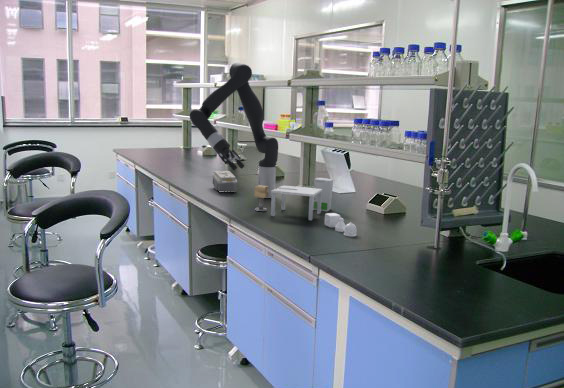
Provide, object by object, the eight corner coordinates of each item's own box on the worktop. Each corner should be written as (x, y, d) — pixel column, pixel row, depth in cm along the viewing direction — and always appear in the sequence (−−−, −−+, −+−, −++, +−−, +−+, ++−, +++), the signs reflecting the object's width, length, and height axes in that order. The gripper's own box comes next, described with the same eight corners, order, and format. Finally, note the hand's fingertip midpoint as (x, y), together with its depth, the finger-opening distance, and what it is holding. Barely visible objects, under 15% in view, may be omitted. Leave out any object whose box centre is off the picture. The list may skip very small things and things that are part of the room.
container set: (324, 225, 221) (324, 213, 220) (334, 224, 223) (335, 212, 222) (347, 237, 203) (348, 224, 202) (359, 236, 205) (359, 223, 204)
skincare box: (312, 210, 250) (313, 179, 248) (315, 207, 257) (317, 177, 254) (328, 211, 248) (330, 180, 245) (331, 209, 254) (333, 178, 251)
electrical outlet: (228, 184, 312) (229, 168, 309) (239, 196, 286) (240, 179, 283) (209, 185, 308) (210, 169, 306) (219, 197, 282) (220, 179, 279)
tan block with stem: (257, 209, 249) (258, 184, 246) (268, 210, 247) (269, 186, 244) (252, 211, 243) (253, 186, 241) (264, 212, 241) (265, 187, 239)
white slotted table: (282, 209, 250) (282, 185, 248) (321, 213, 243) (322, 189, 241) (270, 215, 235) (271, 190, 233) (311, 220, 228) (313, 194, 226)
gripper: (216, 138, 239) (238, 164, 237) (229, 137, 252) (250, 162, 250) (206, 149, 241) (227, 175, 240) (220, 147, 255) (240, 171, 253)
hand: (239, 168), depth 245 cm, fingers open, 8 cm apart
